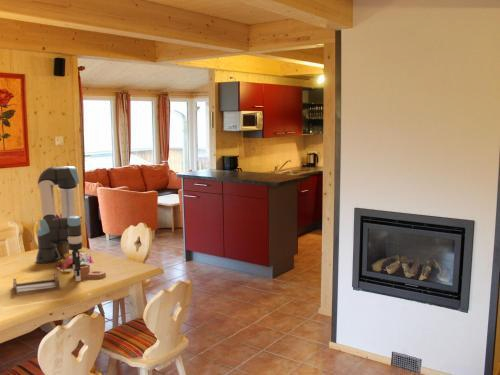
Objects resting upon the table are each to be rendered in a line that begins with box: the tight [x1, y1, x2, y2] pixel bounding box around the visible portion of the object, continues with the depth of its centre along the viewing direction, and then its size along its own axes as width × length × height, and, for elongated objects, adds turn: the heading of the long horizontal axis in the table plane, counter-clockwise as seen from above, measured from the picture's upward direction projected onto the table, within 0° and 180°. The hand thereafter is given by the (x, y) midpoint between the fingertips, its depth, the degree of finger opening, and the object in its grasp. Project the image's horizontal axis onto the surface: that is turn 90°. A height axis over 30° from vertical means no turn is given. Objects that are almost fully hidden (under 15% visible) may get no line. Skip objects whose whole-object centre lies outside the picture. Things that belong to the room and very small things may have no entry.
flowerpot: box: [56, 213, 70, 257], centre depth 346 cm, size 14×14×30 cm
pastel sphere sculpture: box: [54, 249, 94, 273], centre depth 321 cm, size 25×24×9 cm
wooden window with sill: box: [12, 273, 60, 297], centre depth 277 cm, size 17×23×4 cm
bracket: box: [74, 264, 107, 280], centre depth 298 cm, size 18×8×7 cm, turn 87°
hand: (77, 278), depth 295 cm, fingers open, 12 cm apart
